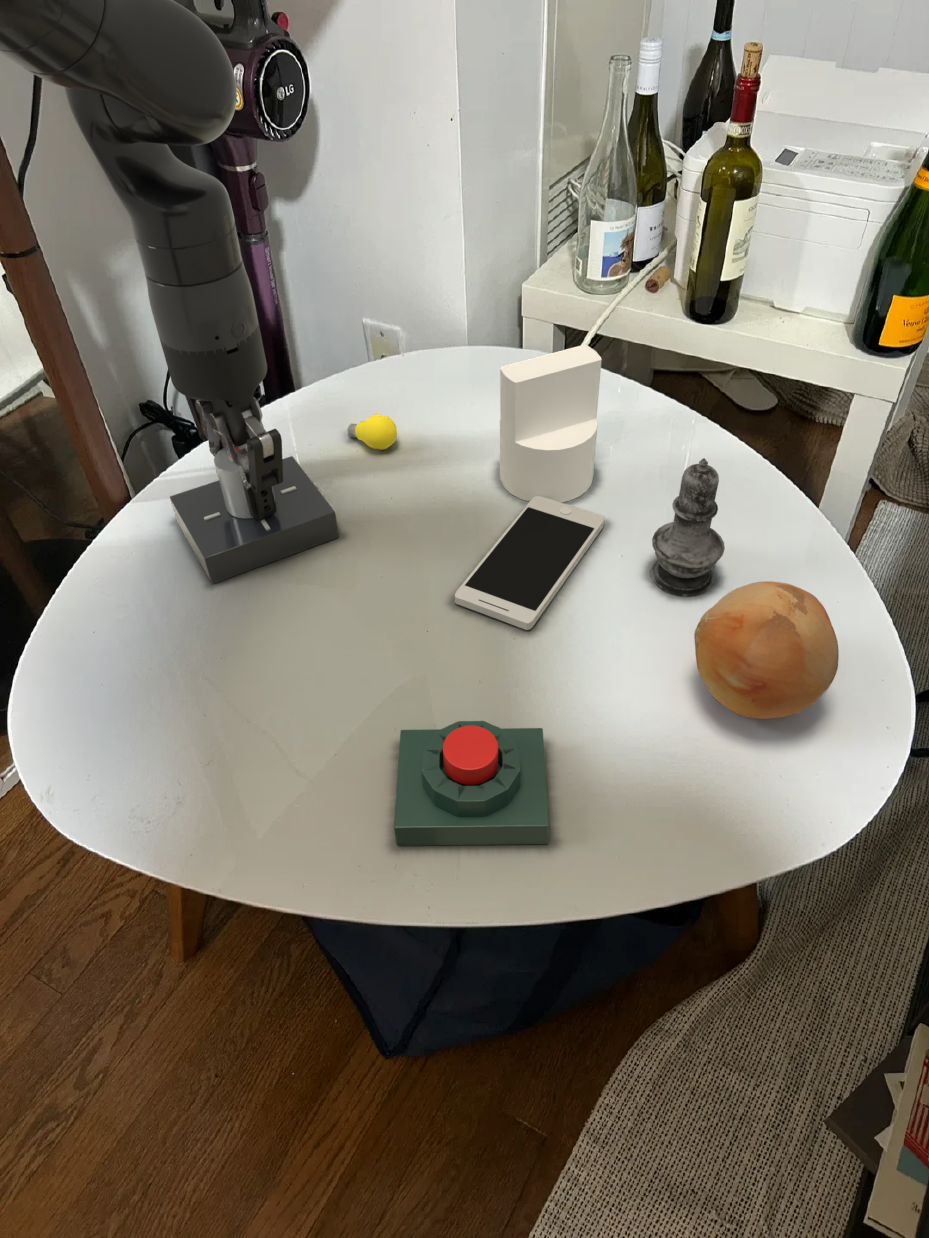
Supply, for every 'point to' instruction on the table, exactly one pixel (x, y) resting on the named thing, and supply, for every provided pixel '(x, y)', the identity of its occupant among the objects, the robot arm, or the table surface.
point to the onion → (766, 650)
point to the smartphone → (530, 562)
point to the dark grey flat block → (254, 525)
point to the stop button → (470, 755)
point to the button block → (471, 792)
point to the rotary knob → (232, 485)
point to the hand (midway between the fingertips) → (250, 501)
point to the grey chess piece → (689, 536)
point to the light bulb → (375, 431)
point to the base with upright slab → (549, 424)
